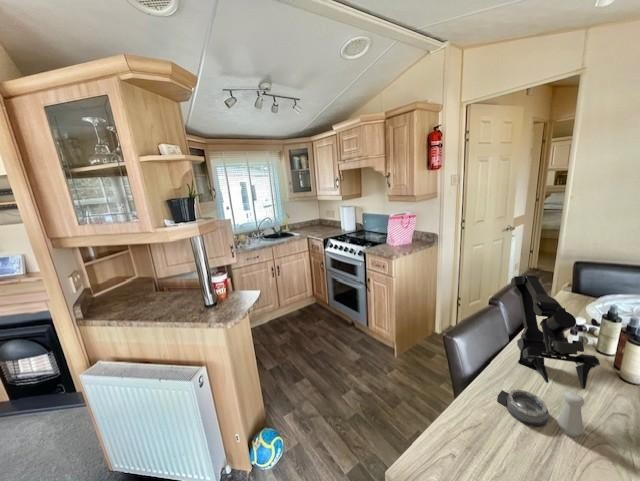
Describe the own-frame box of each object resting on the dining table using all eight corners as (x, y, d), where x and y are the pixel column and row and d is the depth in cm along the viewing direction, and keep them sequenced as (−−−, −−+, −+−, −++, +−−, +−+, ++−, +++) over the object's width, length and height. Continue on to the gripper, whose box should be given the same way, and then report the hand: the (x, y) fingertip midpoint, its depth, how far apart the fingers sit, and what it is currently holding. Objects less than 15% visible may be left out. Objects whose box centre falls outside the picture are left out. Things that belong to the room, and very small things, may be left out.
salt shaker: (575, 425, 84) (581, 390, 81) (586, 442, 78) (593, 405, 76) (552, 420, 86) (557, 386, 83) (561, 436, 80) (567, 400, 78)
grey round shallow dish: (493, 406, 92) (494, 395, 91) (504, 390, 99) (505, 380, 98) (542, 433, 82) (543, 421, 81) (551, 413, 88) (553, 402, 87)
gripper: (529, 325, 89) (538, 376, 82) (601, 333, 83) (619, 389, 75) (519, 334, 98) (526, 380, 90) (583, 342, 91) (598, 393, 84)
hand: (565, 385), depth 85 cm, fingers open, 9 cm apart
